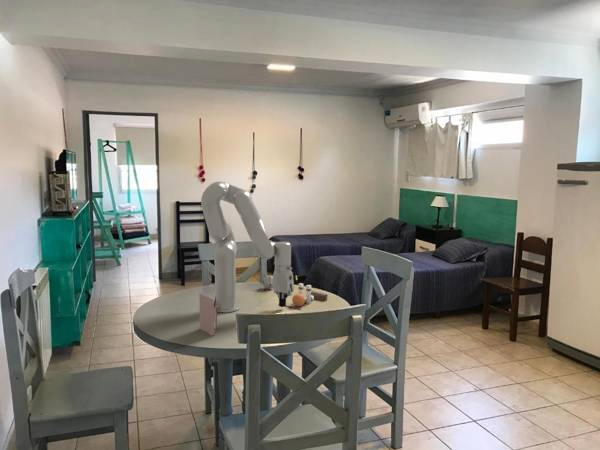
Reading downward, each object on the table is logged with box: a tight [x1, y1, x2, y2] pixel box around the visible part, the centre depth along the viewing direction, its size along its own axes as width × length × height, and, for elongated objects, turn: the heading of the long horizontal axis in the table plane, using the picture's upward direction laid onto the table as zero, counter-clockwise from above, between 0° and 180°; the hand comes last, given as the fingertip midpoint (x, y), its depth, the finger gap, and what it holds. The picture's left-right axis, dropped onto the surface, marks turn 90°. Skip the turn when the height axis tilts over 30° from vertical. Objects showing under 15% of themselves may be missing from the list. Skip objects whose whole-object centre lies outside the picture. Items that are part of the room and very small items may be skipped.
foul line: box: [277, 303, 302, 311], centre depth 232 cm, size 1×14×1 cm, turn 50°
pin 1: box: [297, 282, 304, 296], centre depth 241 cm, size 2×2×9 cm
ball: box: [291, 293, 305, 307], centre depth 233 cm, size 6×6×6 cm
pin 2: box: [305, 284, 312, 305], centre depth 238 cm, size 2×2×9 cm
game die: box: [261, 273, 274, 290], centre depth 266 cm, size 9×8×10 cm
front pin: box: [304, 295, 314, 304], centre depth 241 cm, size 2×2×9 cm
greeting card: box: [198, 293, 218, 336], centre depth 194 cm, size 11×7×15 cm, turn 5°
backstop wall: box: [311, 290, 328, 302], centre depth 248 cm, size 2×12×3 cm, turn 50°
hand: (282, 306), depth 228 cm, fingers closed
